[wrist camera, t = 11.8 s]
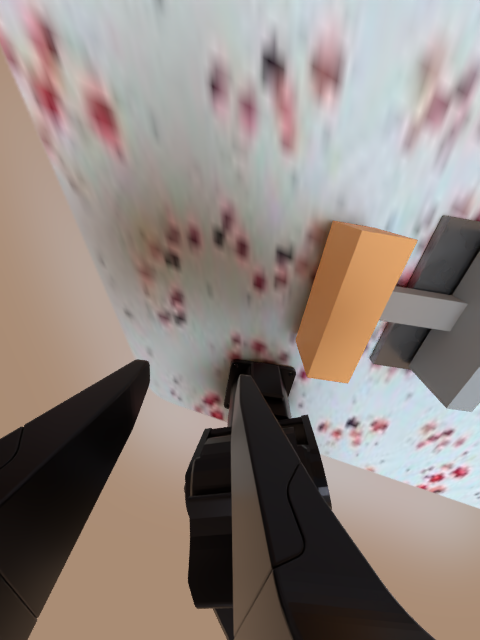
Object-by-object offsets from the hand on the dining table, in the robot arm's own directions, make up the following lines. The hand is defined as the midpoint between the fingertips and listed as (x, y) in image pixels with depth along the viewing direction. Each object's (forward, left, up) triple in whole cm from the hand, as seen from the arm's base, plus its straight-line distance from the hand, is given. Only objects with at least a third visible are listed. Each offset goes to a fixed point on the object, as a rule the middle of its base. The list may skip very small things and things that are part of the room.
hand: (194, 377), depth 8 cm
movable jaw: (0, -13, -12) cm, 18 cm away
